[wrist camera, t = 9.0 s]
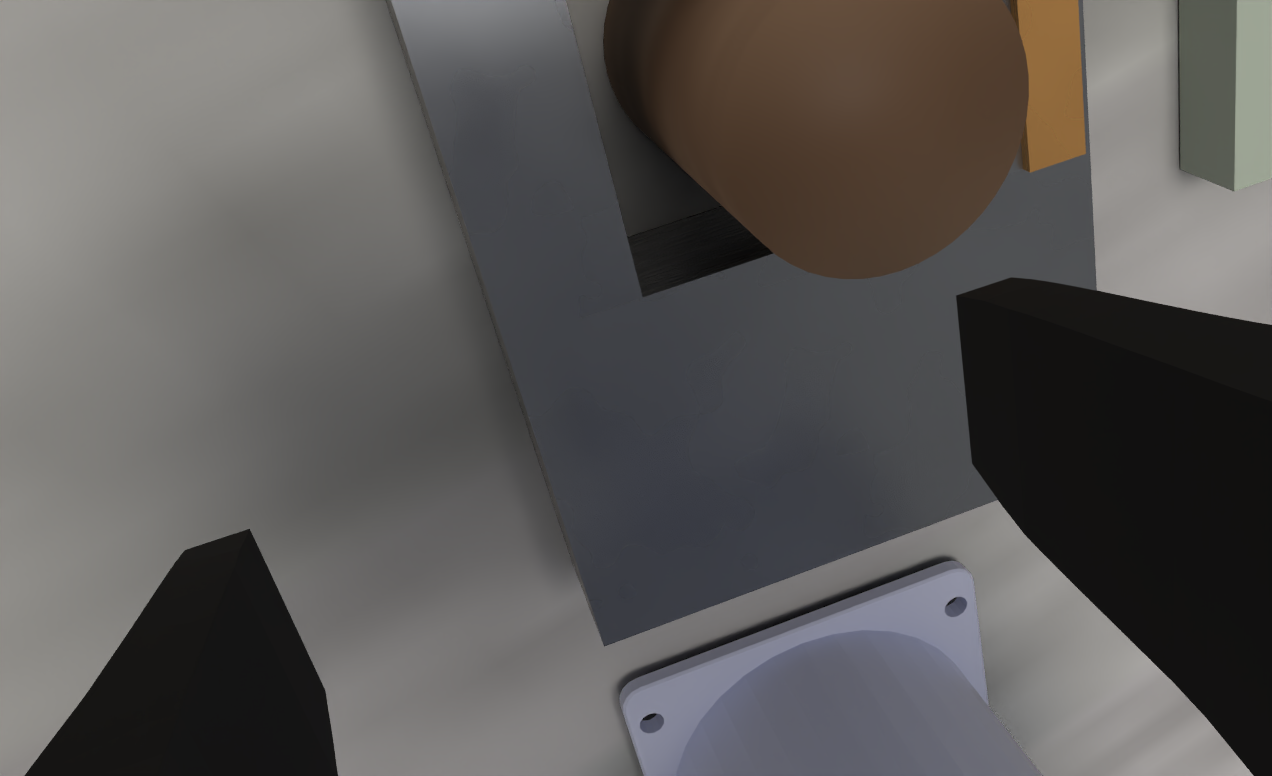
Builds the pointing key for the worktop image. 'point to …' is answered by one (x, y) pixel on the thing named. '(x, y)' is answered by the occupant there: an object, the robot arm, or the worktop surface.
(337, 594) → the worktop surface
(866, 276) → the peg
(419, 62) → the hole plate
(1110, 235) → the worktop surface
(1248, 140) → the pad
